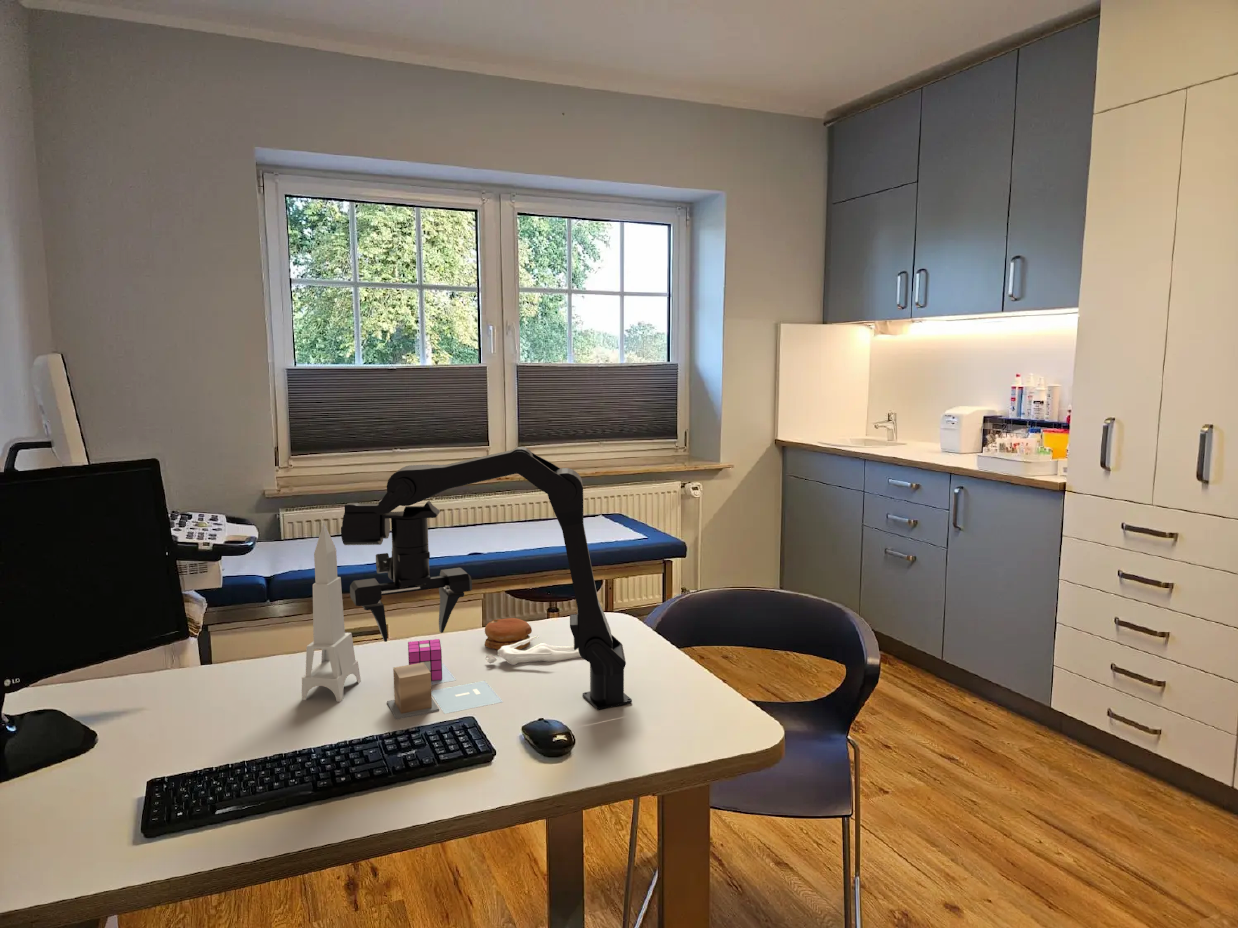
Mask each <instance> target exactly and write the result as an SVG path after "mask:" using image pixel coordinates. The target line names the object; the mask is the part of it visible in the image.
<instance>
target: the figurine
mask: <svg viewBox="0 0 1238 928" xmlns="http://www.w3.org/2000/svg"><path fill="white" fill-rule="evenodd" d="M539 637H540V636H539V635H535V636H531V637H530V638H529V639H526V640H523V641H520V642H517V643H515V644H512V645H507V646H502V647H501V648H500V649H499V650H496V651H497V653H496V654H497V656H499V657H500V658H502V659H503V660H504V661H506V663H508V664H509V665H510V666H511V665H512V666H513V665H517V664H522V663H532V662H541V661H543V662H545V663H546V662H548V663H549V662H558V661H565V660H571V659H576V658H582V657H581V656H580V654H579V650H578V648H577V649H576V650H574V644H572V645H571V646H570V645H569V646H561V645H560V646H557V645H551V644H550V645H549V644H547V643H544V642H542V643H538V644H537V645H534V646H532V647H531V648H528V649H527V650H523V649H520V650H517V649H514V648H516V647H517V646H520V645H524V644H526V643H528V642H530V643H531V642H532V641H533V640H535V639H537V638H539ZM484 659H485V661H486V663H489V664H494V663H495V662H496V661H497V660H498V659H497V658H496V656H494V655H493V654H486V655H485V658H484Z"/></svg>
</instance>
